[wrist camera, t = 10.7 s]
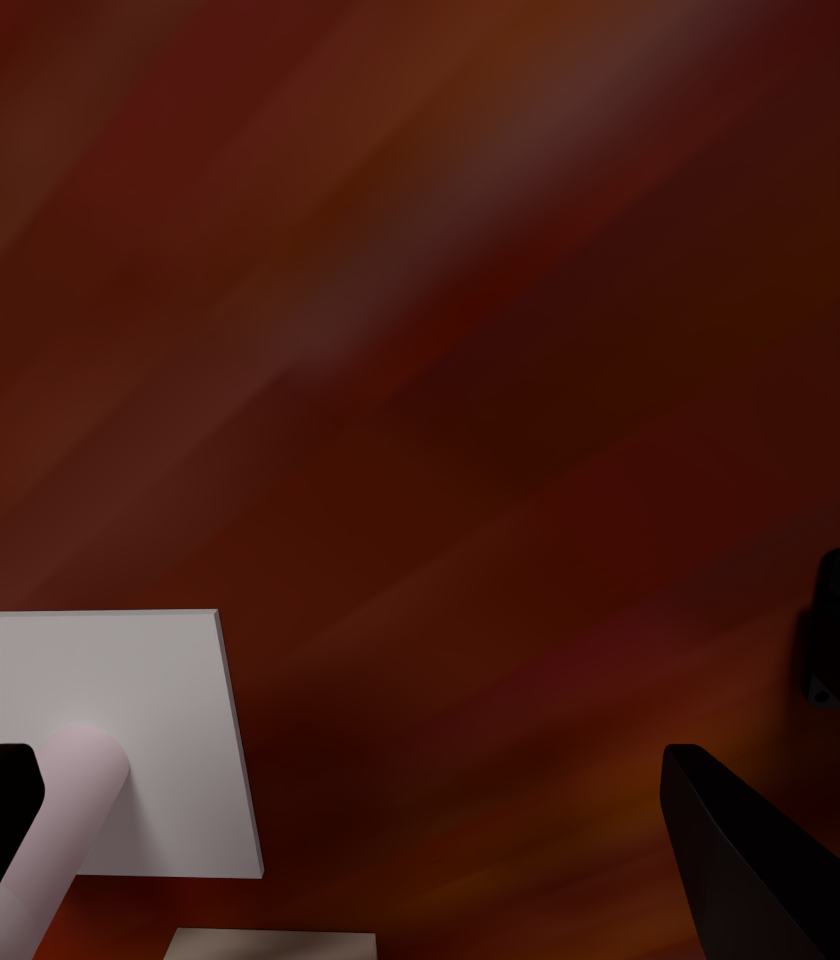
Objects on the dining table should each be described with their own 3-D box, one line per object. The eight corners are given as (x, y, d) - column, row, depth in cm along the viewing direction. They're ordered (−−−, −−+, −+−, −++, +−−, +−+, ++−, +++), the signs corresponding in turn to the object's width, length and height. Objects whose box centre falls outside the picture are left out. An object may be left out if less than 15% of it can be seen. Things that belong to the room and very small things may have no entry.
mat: (217, 608, 22) (213, 614, 22) (264, 870, 26) (261, 878, 26) (-108, 613, 23) (-117, 618, 23) (-14, 864, 27) (-21, 872, 27)
